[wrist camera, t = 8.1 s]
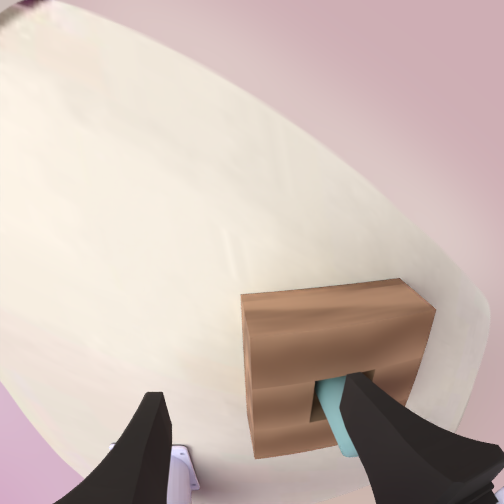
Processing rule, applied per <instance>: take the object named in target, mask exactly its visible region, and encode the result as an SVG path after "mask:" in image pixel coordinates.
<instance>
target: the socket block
mask: <svg viewBox="0 0 504 504" xmlns="http://www.w3.org/2000/svg"><path fill="white" fill-rule="evenodd" d="M241 310H242V330H243V349H244V367H245V385H246V403H247V416H248V422H249V428H250V434H251V440H252V446H253V451H254V457H255V459H261V458H269V457H276V456H283V455H289V454H295V453H301V452H306V451H311V450H316V449H321V448H326V447H331V446H335V445H338V443H337V441H336V438H335V436H334V434H333V431H332V429H331V427H330V425H329V422H328V420H327V418H326V415H325V413H324V411H323V408H322V406H321V404H320V401H319V399H318V397H317V394H316V392H315V390H314V386H315V381H319V380H324V379H330V378H335V377H341V376H346V375H347V374H351V373H356V372H361V373H363V374H364V375H365V376H366V377H367V378H369V379H370V380H371V381H372V382H373V383H375V384H376V385H377V386H378V387H380V388H381V389H382V390H383V391H384V392H386V393H387V394H388V395H390V396H391V397H392V398H393V399H395V400H396V401H397V402H399V403H400V404H402V405H403V406H404V407H405V405H406V402H407V400H408V397H409V394H410V392H411V389H412V386H413V384H414V381H415V378H416V375H417V372H418V369H419V366H420V363H421V360H422V357H423V354H424V351H425V348H426V344H427V341H428V338H429V334H430V331H431V327H432V323H433V320H434V316H435V312H436V309H435V308H434V307H433V306H432V305H430V304H429V303H428V302H427V301H426V300H425V299H423V298H422V297H421V296H420V295H419V294H418V293H416V292H415V291H414V290H413V289H412V288H410V287H409V286H408V285H407V284H406V283H404V282H403V281H402V280H401V279H400V278H397V279H389V280H381V281H373V282H364V283H356V284H347V285H338V286H329V287H319V288H309V289H299V290H289V291H278V292H267V293H255V294H243V295H241Z"/></svg>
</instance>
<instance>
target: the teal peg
mask: <svg viewBox="0 0 504 504" xmlns="http://www.w3.org/2000/svg"><path fill="white" fill-rule="evenodd" d="M345 380H346V376H341V377H335V378H330V379H324V380H319V381H315V386H314V390H315V392H316V394H317V397H318V399H319V401H320V404H321V406H322V408H323V411H324V413H325V415H326V418H327V420H328V422H329V425H330V427H331V429H332V431H333V434H334V436H335V438H336V441H337V443H338V445H339V448H340V450H341V452H342V454H343V455H344V456H346V457H357V456H358V454H357V451H356V449H355V447H354V445H353V443H352V441H351V439H350V437H349V435H348V433H347V431H346V428H345V425H344V422H343V419H342V416H341V413H340V409H339V406H340V401H341V397H342V393H343V389H344V384H345Z"/></svg>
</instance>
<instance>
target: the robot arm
mask: <svg viewBox="0 0 504 504" xmlns="http://www.w3.org/2000/svg"><path fill="white" fill-rule="evenodd" d="M339 409H340V413H341V416H342V419H343V422H344V425H345V428H346V431H347V433H348V435H349V437H350V439H351V441H352V443H353V445H354V447H355V449H356V451H357V454H358V456H359V458H360V460H361V462H362V464H363V466H364V468H365V471H366V473H367V475H368V478H369V481H370V484H371V487H372V490H373V494H374V497H375V500H376V504H504V487H502V488H501V489H500V490H498V491H497V492H496V493H495V494H494V493H493V492H492V489H493V488H494V485H493V483H492V482H491V481H492V480H493V479H494V478H495V477H496V476H497V475H498V473H499V472H500V471H501V470H502V469H503V468H504V452H503V451H502V449H501V448H500V447H499V446H498V445H495V444H490V443H485V442H480V441H476V440H473V439H469V438H466V437H463V436H460V435H457V434H454V433H452V432H450V431H447V430H445V429H442V428H440V427H438V426H436V425H434V424H432V423H430V422H429V421H427V420H425V419H423V418H421V417H420V416H418V415H416V414H415V413H413V412H412V411H410V410H409V409H407V408H406V407H404V406H403V405H402V404H400V403H399V402H397V401H396V400H395V399H393V398H392V397H391V396H390V395H388V394H387V393H386V392H384V391H383V390H382V389H381V388H380V387H378V386H377V385H376V384H375V383H373V382H372V381H371V380H370V379H369V378H367V377H366V376H365V375H364V374H363V373H361V372H356V373H351V374H347V375H346V380H345V384H344V389H343V393H342V397H341V401H340V406H339ZM109 448H110V450H111V451H110V452H109V453H108V454H107V456H106V457H105V458H104V459H103V460H102V462H101V463H100V464H99V465H98V466H97V467H96V468H95V469H94V470H93V471H92V472H91V473H90V474H89V475H88V476H87V477H86V478H85V479H84V480H83V481H82V482H81V483H80V484H79V485H77V486H76V487H75V488H74V489H73V490H71V491H70V492H69V493H68V494H66V495H65V496H64V497H62V498H61V499H60V500H58V501H56V502H55V503H53V504H192V497H191V490H199V489H200V485H199V483H198V480H197V477H196V474H195V471H194V468H193V465H192V462H191V459H190V456H189V453H188V450H187V448H186V447H185V446H172V424H171V420H170V417H169V413H168V410H167V406H166V402H165V399H164V395H163V392H147V393H146V394H145V395H144V397H143V399H142V401H141V403H140V405H139V407H138V409H137V411H136V412H135V414H134V416H133V418H132V419H131V421H130V423H129V424H128V426H127V427H126V429H125V431H124V432H123V434H122V435H121V437H120V438H119V439H118V441H117V442H116V444H110V446H109Z"/></svg>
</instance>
